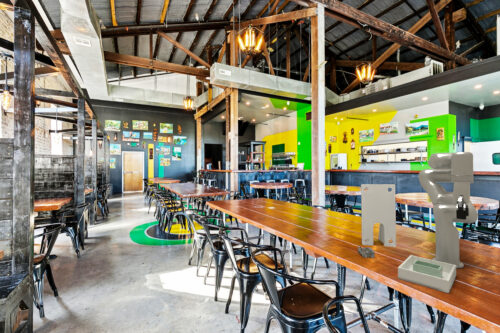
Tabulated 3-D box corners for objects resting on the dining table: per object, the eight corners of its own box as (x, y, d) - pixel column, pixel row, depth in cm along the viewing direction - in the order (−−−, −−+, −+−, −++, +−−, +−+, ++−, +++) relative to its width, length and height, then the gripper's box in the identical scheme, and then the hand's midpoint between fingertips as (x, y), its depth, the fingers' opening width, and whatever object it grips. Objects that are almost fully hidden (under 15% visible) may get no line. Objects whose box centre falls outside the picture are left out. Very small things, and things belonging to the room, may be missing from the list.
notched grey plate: (388, 240, 165) (387, 183, 165) (396, 246, 151) (395, 184, 151) (357, 238, 169) (356, 182, 170) (362, 244, 155) (361, 184, 156)
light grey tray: (410, 264, 123) (410, 255, 123) (456, 275, 110) (456, 265, 110) (398, 278, 108) (397, 267, 108) (448, 293, 95) (448, 280, 95)
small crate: (416, 269, 115) (416, 259, 115) (442, 276, 108) (442, 265, 108) (412, 274, 111) (412, 263, 111) (439, 281, 103) (439, 270, 103)
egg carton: (356, 251, 144) (356, 244, 144) (370, 252, 143) (369, 245, 143) (362, 258, 134) (361, 250, 134) (376, 258, 132) (376, 251, 132)
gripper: (454, 178, 115) (454, 213, 115) (448, 180, 103) (448, 219, 103) (475, 178, 109) (475, 215, 109) (471, 180, 98) (472, 221, 97)
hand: (462, 217), depth 106 cm, fingers open, 9 cm apart
